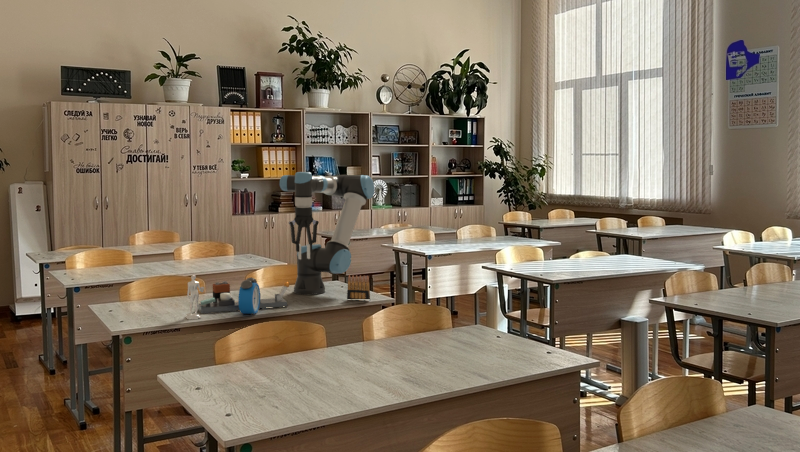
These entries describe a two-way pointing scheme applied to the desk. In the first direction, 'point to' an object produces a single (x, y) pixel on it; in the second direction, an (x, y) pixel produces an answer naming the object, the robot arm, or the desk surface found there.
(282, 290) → the lever
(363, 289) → the ammunition clip
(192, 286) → the figurine
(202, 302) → the block
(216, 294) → the battery
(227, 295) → the button
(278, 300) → the panel
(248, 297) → the alarm clock
